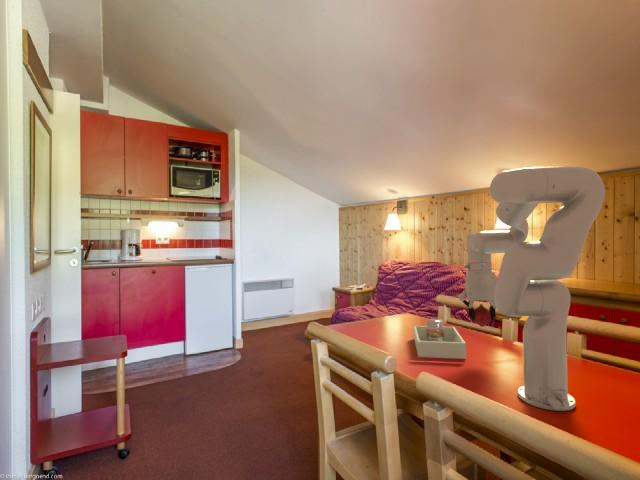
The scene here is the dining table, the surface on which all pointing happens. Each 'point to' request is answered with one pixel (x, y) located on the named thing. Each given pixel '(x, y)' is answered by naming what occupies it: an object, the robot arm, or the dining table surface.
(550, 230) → the robot arm
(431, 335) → the glass jar
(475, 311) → the onion
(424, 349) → the tote
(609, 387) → the dining table surface
